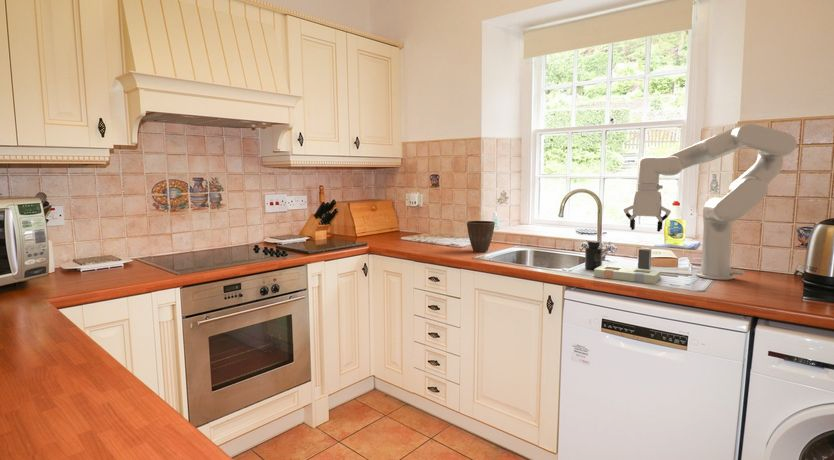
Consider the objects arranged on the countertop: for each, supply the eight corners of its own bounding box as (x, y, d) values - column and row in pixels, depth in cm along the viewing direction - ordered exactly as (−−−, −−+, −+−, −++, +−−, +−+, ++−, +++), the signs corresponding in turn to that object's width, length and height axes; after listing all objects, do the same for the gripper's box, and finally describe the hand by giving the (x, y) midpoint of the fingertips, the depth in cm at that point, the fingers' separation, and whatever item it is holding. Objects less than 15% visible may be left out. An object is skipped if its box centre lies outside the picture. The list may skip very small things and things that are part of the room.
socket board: (660, 278, 185) (660, 270, 185) (654, 283, 175) (655, 275, 175) (602, 271, 198) (602, 264, 198) (593, 276, 188) (593, 268, 188)
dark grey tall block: (650, 273, 195) (651, 248, 194) (648, 275, 191) (649, 249, 190) (639, 272, 197) (640, 247, 196) (637, 274, 194) (638, 248, 193)
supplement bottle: (601, 267, 207) (602, 240, 206) (601, 270, 201) (603, 242, 199) (584, 266, 209) (585, 240, 208) (584, 269, 203) (585, 242, 202)
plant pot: (496, 253, 246) (496, 223, 244) (467, 253, 246) (467, 223, 245) (492, 249, 261) (492, 220, 259) (465, 249, 261) (465, 220, 260)
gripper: (673, 188, 188) (670, 231, 190) (627, 187, 199) (625, 228, 200) (670, 188, 182) (668, 232, 184) (622, 188, 192) (620, 229, 194)
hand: (645, 230), depth 192 cm, fingers open, 9 cm apart
